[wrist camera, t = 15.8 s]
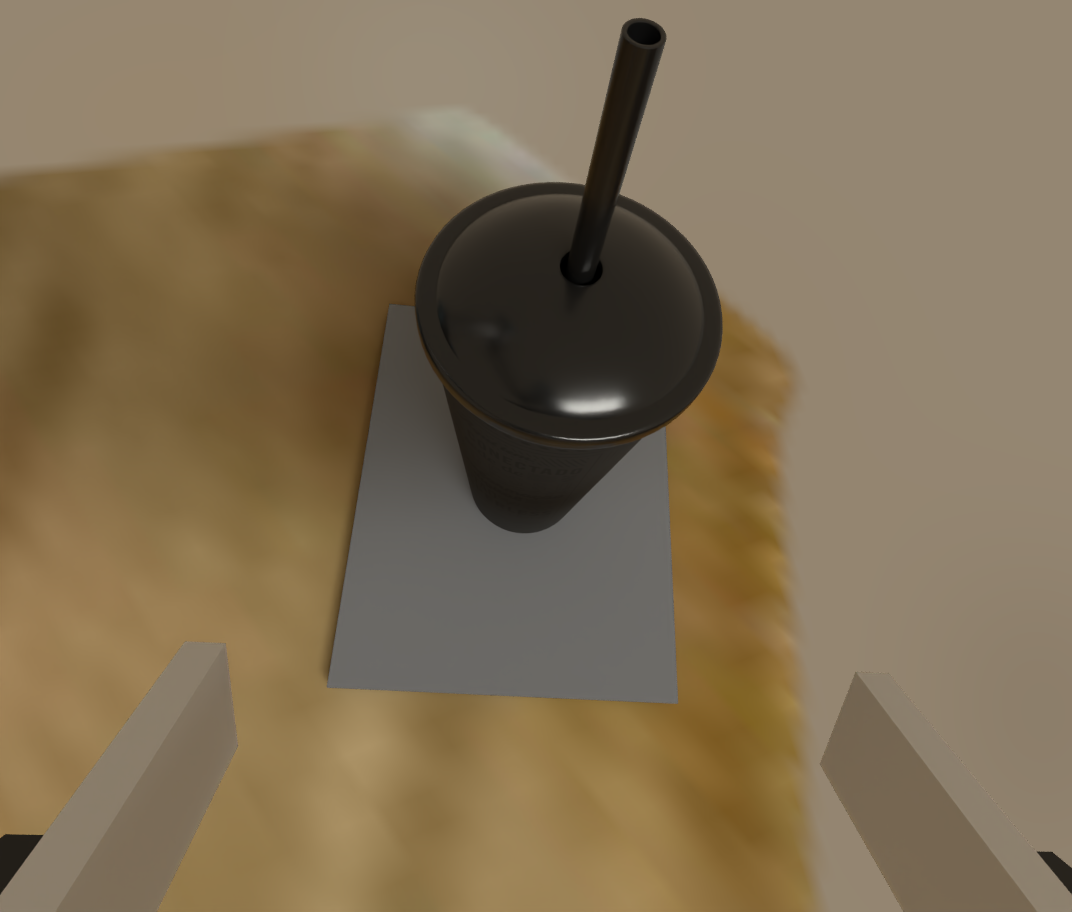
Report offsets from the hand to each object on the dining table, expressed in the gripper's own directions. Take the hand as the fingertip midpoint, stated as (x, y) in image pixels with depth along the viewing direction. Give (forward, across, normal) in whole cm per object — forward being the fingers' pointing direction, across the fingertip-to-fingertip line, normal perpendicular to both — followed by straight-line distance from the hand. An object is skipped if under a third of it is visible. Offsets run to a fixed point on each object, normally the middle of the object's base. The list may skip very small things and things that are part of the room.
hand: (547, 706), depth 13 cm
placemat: (+15, 0, -2) cm, 16 cm away
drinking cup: (+15, 0, -2) cm, 15 cm away
